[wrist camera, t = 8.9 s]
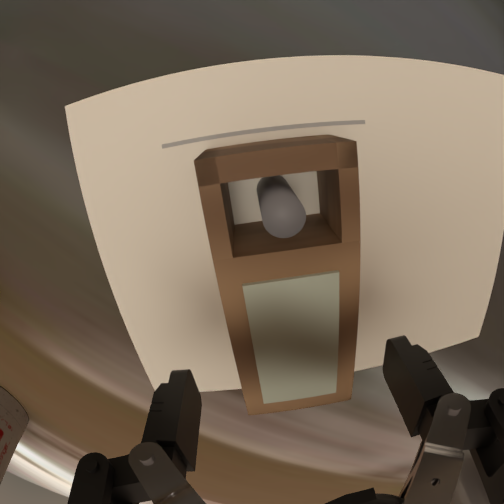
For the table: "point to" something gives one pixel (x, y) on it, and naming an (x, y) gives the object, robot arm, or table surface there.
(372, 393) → the table surface
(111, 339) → the table surface
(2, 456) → the thermos bottle
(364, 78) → the wall board
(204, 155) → the frame
